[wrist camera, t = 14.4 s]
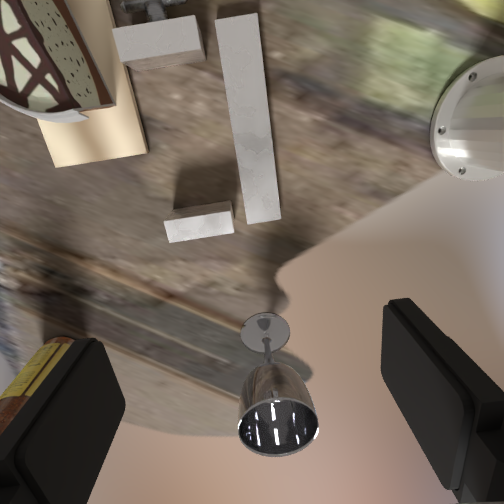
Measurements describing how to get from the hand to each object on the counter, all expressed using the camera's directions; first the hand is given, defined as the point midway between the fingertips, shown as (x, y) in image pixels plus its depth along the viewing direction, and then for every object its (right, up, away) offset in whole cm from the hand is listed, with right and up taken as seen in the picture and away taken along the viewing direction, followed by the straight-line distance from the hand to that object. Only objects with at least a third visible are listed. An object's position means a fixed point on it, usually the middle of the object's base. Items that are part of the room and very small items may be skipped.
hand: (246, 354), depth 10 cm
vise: (-4, +17, +23) cm, 29 cm away
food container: (-18, +21, +20) cm, 34 cm away
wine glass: (+2, -8, +34) cm, 35 cm away
